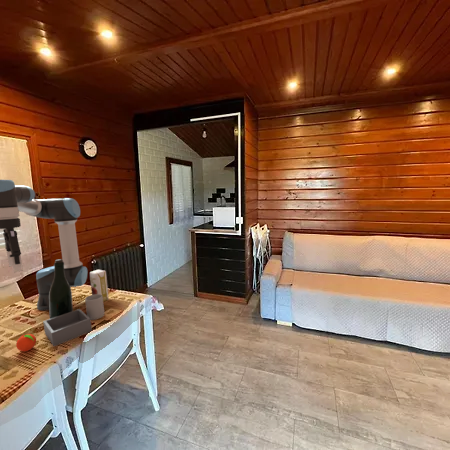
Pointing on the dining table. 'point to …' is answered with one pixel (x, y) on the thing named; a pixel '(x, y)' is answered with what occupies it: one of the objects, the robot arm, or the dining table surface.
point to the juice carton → (99, 283)
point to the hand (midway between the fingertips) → (15, 268)
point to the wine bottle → (60, 292)
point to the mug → (94, 306)
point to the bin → (67, 327)
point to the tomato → (26, 342)
